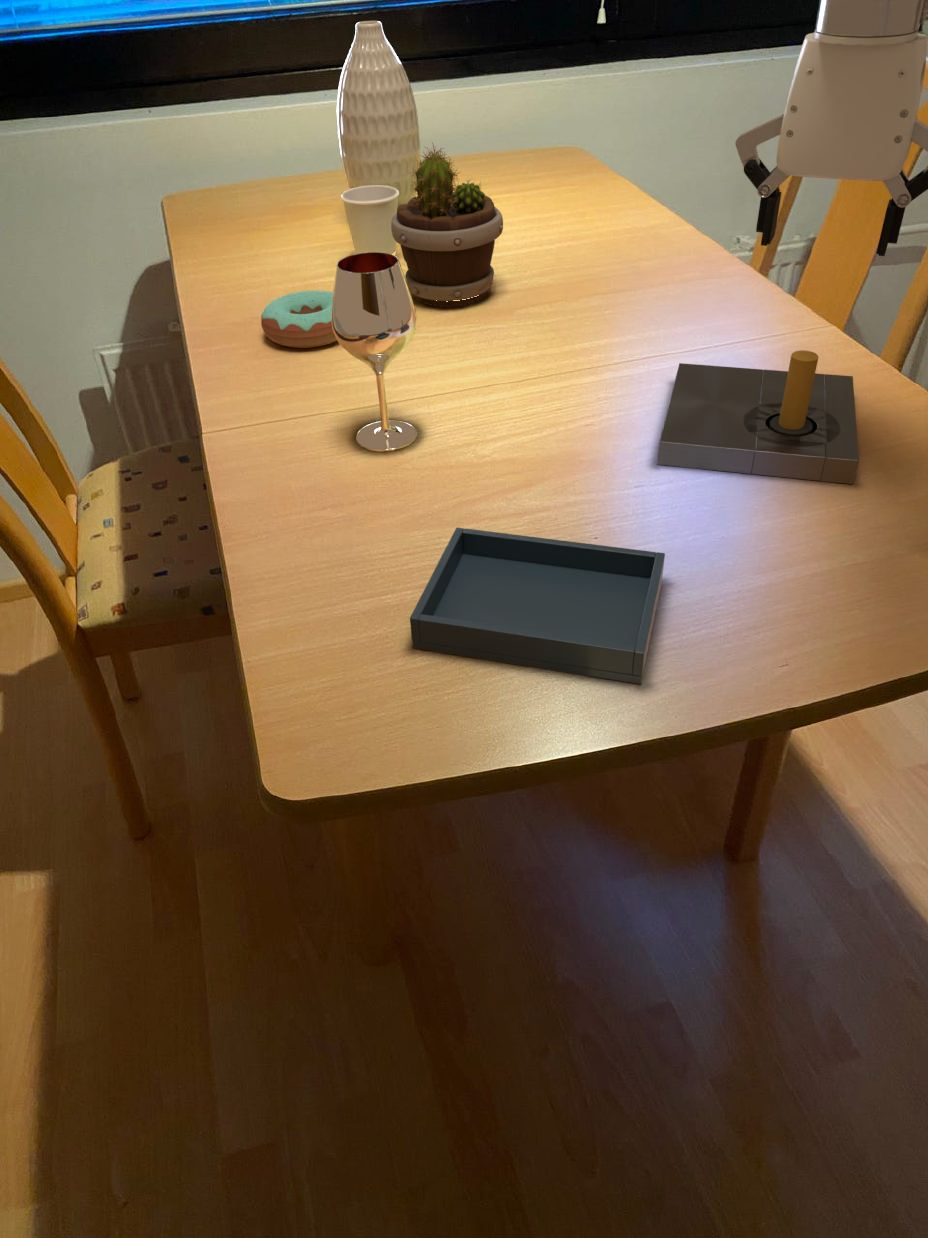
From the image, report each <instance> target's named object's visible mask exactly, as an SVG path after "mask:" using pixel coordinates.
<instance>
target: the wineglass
mask: <svg viewBox="0 0 928 1238" xmlns="http://www.w3.org/2000/svg"><path fill="white" fill-rule="evenodd" d="M335 268H336V269H335V274H334V275H335V276H334V281H333V282H334V283H333V291H332V292H333V298H332V309H331V325H332V330H333V333H334V335H335V337H336V339H337V341H336V342H337V343H338V344H339V345H340V346H341V348H342V349H344V350H345V351H346V353H348V354H349V355H351V356H352V357H353V358H355V359H357V360H358V361H360V362H362V363H364V364H365V365H366V366H367V367H368V368H370V369H371V370H372V372H373V373H374V374H375V378H376V379H375V380H376V386H377V396H378V405H379V417H380V421H376V422H372V423H370V424H367V425H365V426H363V427H362V428H360V429H359V431H358V432H357V433H356V436H355V440H356V442H357V444H358V446H360V448H363V449H364V450H368V451H372V452H380V453H385V452H393V451H398V450H402V449H404V448H407V447H408V446H410V445H412V444H413V443H414V442H415V441H416V439H417V437H418V431H417V429H416V427H415V426H414V425H412V424H410V423H408V422H406V421H401V420H393V419H392V420H390V417H389V411H388V410H389V409H388V402H387V401H388V400H387V391H386V381H385V372H386V370H387V369H388V367H389V365H390V364H391V363H392V362H393V361H394V360H395V359H396V358H397V357H398V356H400V355H401V354H402V352H403V351H404V350H405V349H407V347H408V346H409V344H410V343H411V341H412V340H413V337H414V336H415V333H416V332H415V331H416V329H417V323H418V322H417V319H418V317H417V312H416V306H415V303H414V301H413V298H412V297H413V296H412V293H411V291H410V289H409V287H408V284H407V281H406V276H405V274H404V271H403V268H402V266H401V263H400V260H399V258H398V257H397V255H396V256H394V255H392V254H388V253H381V252H367V253H359V254H355V253H354V254H351V255H348V256H345V257H342V258H341V259H339V260H338V261H337V263H336V267H335Z"/></svg>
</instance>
